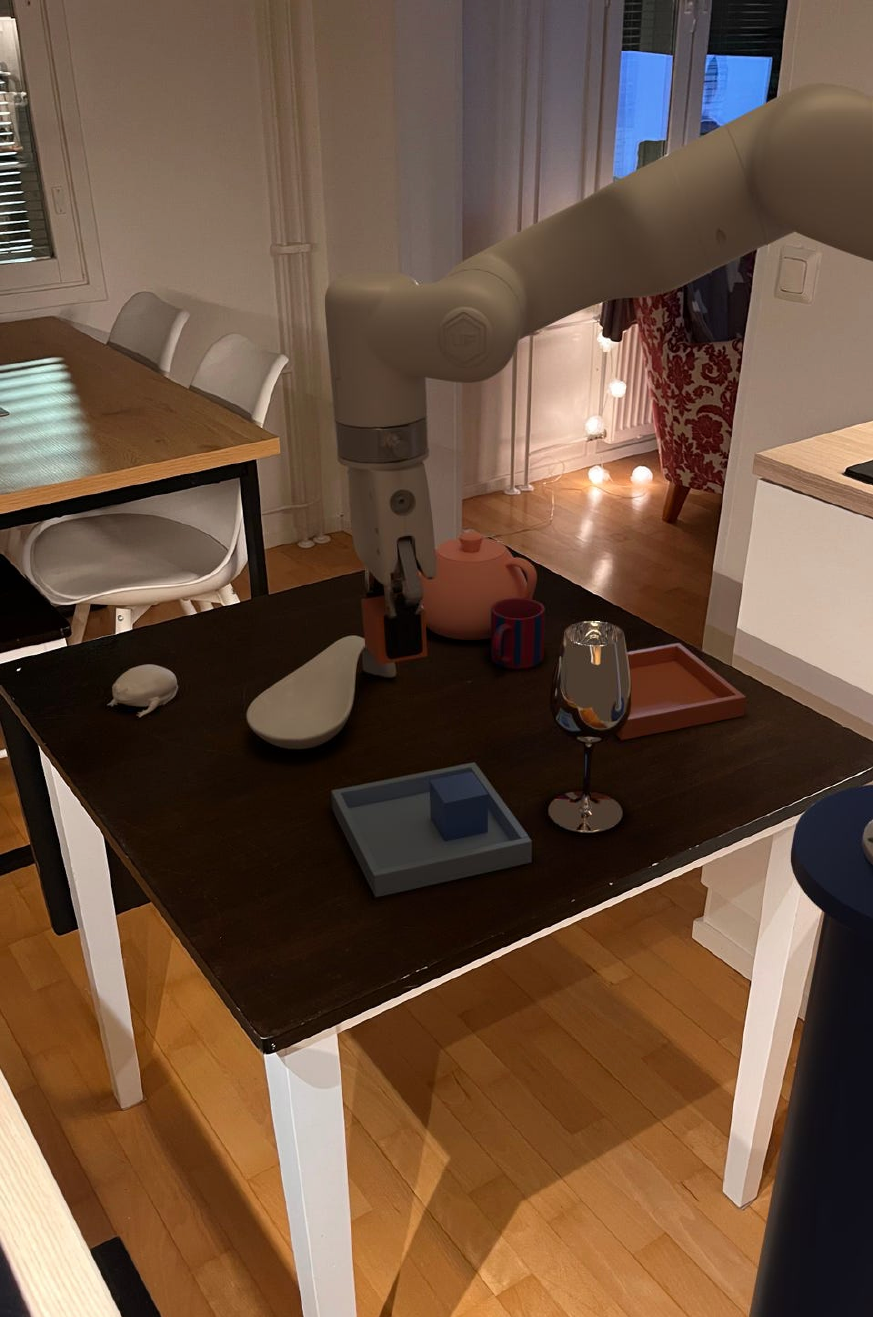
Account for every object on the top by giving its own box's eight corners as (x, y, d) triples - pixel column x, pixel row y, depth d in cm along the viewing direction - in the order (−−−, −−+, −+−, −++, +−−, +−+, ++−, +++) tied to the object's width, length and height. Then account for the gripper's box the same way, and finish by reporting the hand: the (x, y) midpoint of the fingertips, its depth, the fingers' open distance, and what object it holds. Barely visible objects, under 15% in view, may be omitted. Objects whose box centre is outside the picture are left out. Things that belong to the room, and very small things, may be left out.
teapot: (366, 629, 160) (361, 541, 153) (420, 588, 171) (417, 504, 165) (516, 658, 151) (517, 566, 144) (562, 613, 163) (565, 526, 156)
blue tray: (531, 862, 113) (532, 841, 112) (375, 897, 109) (373, 875, 108) (474, 782, 126) (474, 761, 125) (332, 810, 122) (331, 790, 120)
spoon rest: (317, 773, 128) (312, 715, 124) (229, 750, 133) (221, 693, 129) (420, 682, 146) (418, 629, 142) (339, 664, 151) (335, 612, 147)
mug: (552, 653, 152) (554, 604, 148) (513, 684, 145) (514, 633, 141) (507, 642, 155) (508, 593, 152) (467, 671, 148) (466, 621, 144)
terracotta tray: (743, 715, 137) (746, 696, 135) (621, 740, 133) (622, 720, 131) (677, 660, 149) (679, 642, 148) (564, 681, 145) (565, 662, 144)
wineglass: (534, 802, 122) (538, 624, 112) (601, 786, 124) (611, 610, 114) (567, 842, 116) (575, 657, 105) (638, 824, 118) (652, 642, 108)
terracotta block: (427, 656, 105) (425, 609, 102) (378, 665, 104) (375, 617, 101) (411, 636, 108) (409, 590, 106) (364, 645, 107) (360, 598, 105)
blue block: (488, 832, 117) (488, 794, 114) (445, 841, 116) (444, 803, 113) (472, 809, 120) (471, 771, 118) (430, 817, 119) (429, 780, 117)
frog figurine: (140, 720, 139) (135, 691, 137) (100, 706, 143) (95, 678, 141) (188, 693, 145) (184, 665, 143) (149, 680, 148) (144, 652, 146)
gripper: (461, 460, 90) (467, 675, 100) (395, 409, 104) (406, 602, 113) (366, 473, 88) (382, 691, 98) (312, 419, 102) (330, 615, 112)
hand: (395, 641), depth 106 cm, fingers closed on terracotta block, 4 cm apart
